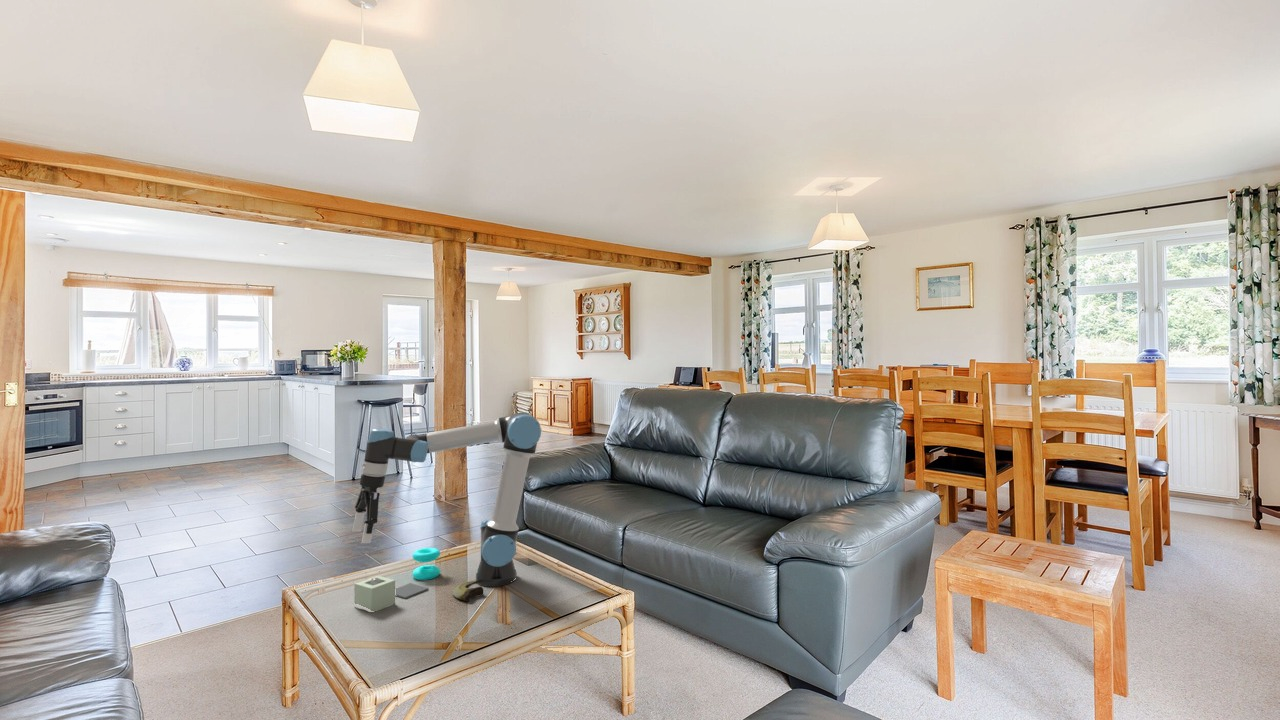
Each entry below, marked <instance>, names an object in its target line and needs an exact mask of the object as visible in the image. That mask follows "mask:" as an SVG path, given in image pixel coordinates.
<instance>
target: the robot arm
mask: <svg viewBox="0 0 1280 720" xmlns="http://www.w3.org/2000/svg"><path fill="white" fill-rule="evenodd" d="M369 432H370V433H369V437H368V440H367V443H366V449H365V455H364V460H363V463H362V464H361V467H362V471H361V473H362V474H361V476H360V480H359V485H360V486H361V490H360V492H359V495H358V496H357V500H356V503H355V506H354V508H355V511H356V512H355V516H354V521H353V525H352V529H351V531H352V532H353V533H354V532H355V533H357V532H358V533H359V532H362V528H363V523H364V528H363V533H362V539H361V541H360V542H361V544H371V543H372V538H373V533H374V529H375V528H374V527H375V524H377V523H378V517H379V501H380V500H379V499H380V492H377V491H378V490H377V489H378V488H379V489H381V488H383V487H384V485H385V480H386V479H385V478H386V474H387V471H388V467H389V459H391V460H398V461H405V462H413V463H425V461H426V460H427V454H431V453H436V452H437V453H438V452H442V451H449V450H454V449H460V448H465V447H472V446H477V445H482V444H488V443H493V442H500V443H501V444H502V443H503V447H502V449H503V451H504V452H505V458H504V462H503V467H502V472H501V476H500V480H499V484H498V490H497V495H496V498H495V499H496V500H495V504H494V509H493V512H492V518H487V519H483V520H481V522H480V562H479V565H478V569H477V572H476V575H475V580H476V582H475V583H476V584H477V585H479V586H481V587H482V586H483V587H500V586H505V584H506V585H509V584H511V583H510V582H511V581H513V580H514V579H515V578H516V576H517V570H516V568H515V564H514V560H513V559H514V557H515V555H516V553H517V545H516V543H517V539H518V538H517V537H518V533H519V530H520V528H519V525H518V524H517V518H518V514H519V508H520V504H521V502H522V501H521V500H522V495H523V491H524V486H525V481H526V477H527V472H528V468H529V462H530V460H531V459H530V458H531V457H532V456H535V454H536V451H537V445H538V442H539V441H540V438H541V437H542V436H541V435H542V428H541V424H540V422H539V420H538V419H536V417H535V416H533V415H531V414H529V413H527V412H517V413H514V414H511V415H507V416H503V417H502V416H501V417H497V419H496V420H495V421H489V422H483V423H478V424H471V425H466V426H465V425H464V426H461V427H455V428H454V427H453V428H449V429H443V430H442V429H441V430H438V431H430V432H427V433H421V434H419V433H418V434H415V433H413V434H410V435H408V436H406V437H404V438H403V437H396V436H395V433H394V430H391V429H385V428H372V429H371V430H370V431H369ZM365 512H366V513H365ZM365 514H366V520H364V519H365ZM516 579H517V578H516ZM508 583H509V584H508Z"/></svg>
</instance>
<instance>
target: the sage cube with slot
mask: <svg viewBox="0 0 1280 720" xmlns="http://www.w3.org/2000/svg"><path fill="white" fill-rule="evenodd" d="M372 578H379V584H376V585H374V586H373V585H371V579H372ZM395 589H396V580H395V579H393V578H389V577H384V576H381V575H376V576H373V577H371V578H367V579H364V580H362V581H359V582H355V583H354V603H355V604H359V605H361V606H363V607H366V608H368V609H370V610H371V611H376V612H378V611H380V610H384V609H386V608H388V607H390V606H393V605H395V604H396V596H395ZM354 603H353V604H354Z"/></svg>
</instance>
